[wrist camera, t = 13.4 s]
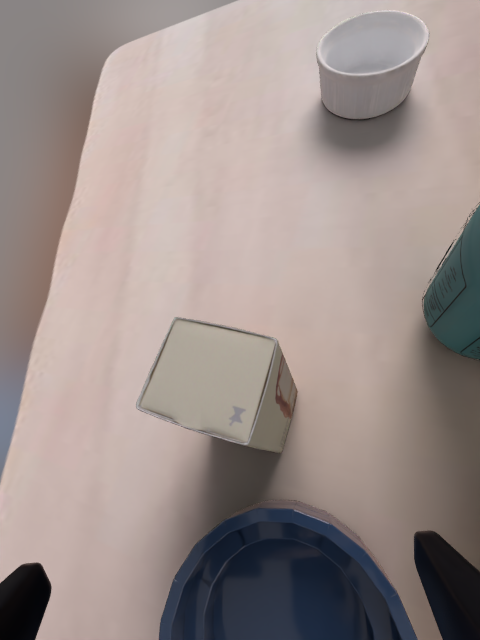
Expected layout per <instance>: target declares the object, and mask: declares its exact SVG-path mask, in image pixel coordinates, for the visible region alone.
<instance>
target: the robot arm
mask: <svg viewBox="0 0 480 640" xmlns="http://www.w3.org/2000/svg"><path fill="white" fill-rule="evenodd" d="M414 560H415V565H416V568H417V571H418V574H419V577H420V579H421V582H422V585H423V587H424V590H425V593H426V596H427V598H428V601H429V604H430V606H431V609H432V612H433V614H434V617H435V620H436V623H437V625H438V628H439V631H440V633H441V636H442V639H443V640H480V572H479V571H478V570H477V569H476V568H475V567H474V566H473V565H472V564H471V563H470V562H468V561H467V560H466V559H465V558H464V557H463V556H462V555H461V554H460V553H458V552H457V551H456V550H455V549H454V548H453V547H452V546H451V545H450V544H449V543H447V542H446V541H445V540H444V539H443V538H442V537H441V536H440V535H439V534H437V533H436V532H434V531H418V532H416V533H415V534H414ZM50 595H51V583H50V581H49V579H48V577H47V575H46V573H45V571H44V569H43V566H42V565H41V564H40V563H26V564H23V565H21V566H20V567H18V568H17V569H16V570H15V571H14V572H13V573H11V574H10V575H9V576H8V577H7V578H6V579H5V580H4V581H2V582H1V583H0V640H35V638H36V636H37V633H38V630H39V627H40V624H41V621H42V618H43V616H44V613H45V610H46V607H47V604H48V601H49V598H50Z"/></svg>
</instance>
